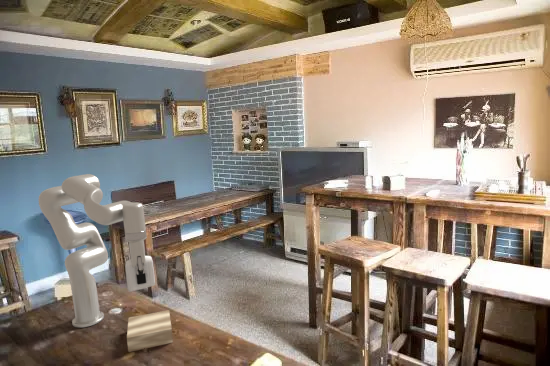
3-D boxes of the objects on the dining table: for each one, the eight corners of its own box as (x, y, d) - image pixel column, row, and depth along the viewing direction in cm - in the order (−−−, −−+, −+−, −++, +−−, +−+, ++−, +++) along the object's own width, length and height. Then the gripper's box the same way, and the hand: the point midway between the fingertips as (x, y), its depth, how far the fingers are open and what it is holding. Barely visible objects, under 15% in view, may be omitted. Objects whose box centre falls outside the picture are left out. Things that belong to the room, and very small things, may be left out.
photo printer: (153, 282, 152) (150, 252, 150) (156, 285, 149) (153, 255, 147) (126, 289, 147) (122, 258, 145) (129, 293, 143) (125, 261, 141)
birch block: (130, 331, 157) (128, 317, 156) (170, 323, 162) (169, 309, 161) (128, 352, 142) (126, 338, 141) (172, 343, 147) (171, 328, 146)
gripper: (124, 231, 151) (129, 275, 154) (126, 243, 135) (132, 291, 138) (144, 228, 154) (149, 271, 157) (148, 239, 138) (153, 286, 141)
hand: (141, 280), depth 147 cm, fingers closed on photo printer, 4 cm apart
